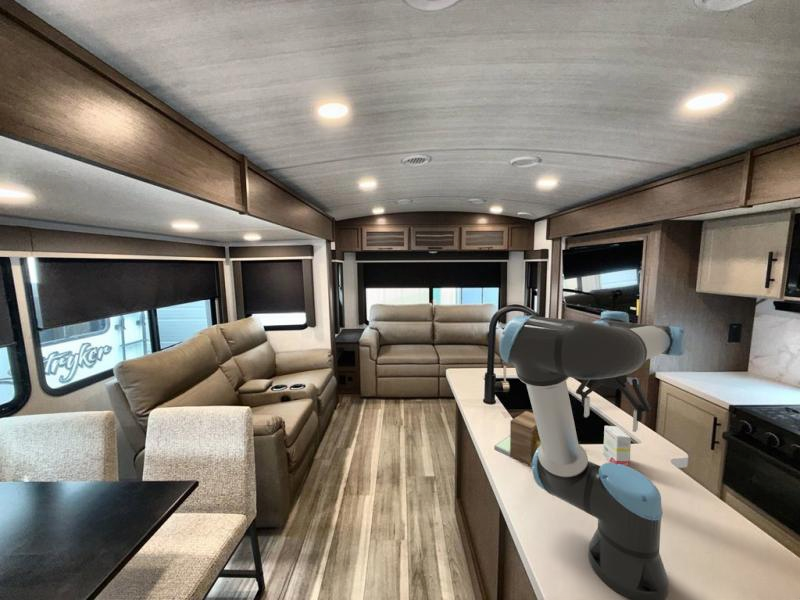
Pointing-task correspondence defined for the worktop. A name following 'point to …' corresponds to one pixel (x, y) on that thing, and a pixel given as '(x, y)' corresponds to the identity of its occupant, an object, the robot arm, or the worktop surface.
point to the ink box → (616, 445)
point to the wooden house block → (522, 437)
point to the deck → (506, 447)
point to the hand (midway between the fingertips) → (609, 422)
